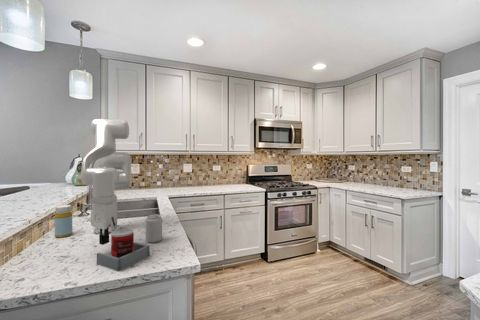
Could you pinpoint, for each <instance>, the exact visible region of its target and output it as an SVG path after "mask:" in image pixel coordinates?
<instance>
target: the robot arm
mask: <svg viewBox="0 0 480 320" xmlns="http://www.w3.org/2000/svg"><path fill="white" fill-rule="evenodd" d="M90 124H91V129H92V130H91V131H92V135H94V148H93V149H92V150H90V151H89V152H88V153H87V154H86V155H85V156H84V157H83V160H82V163H81V169H80V181H81V183H82V184H83V185H84V186H87V187H88V186H90V187H91V186H92V206H91V211H90V226H91V227H92V228H93V227H94V229H93V233H94V234H96V235H97V234H98V235H99V236H98V237H99V239H98V240H99V241H98V243H99V245H102V246H103V245H106V244H108V243H109V242H110V234H111V233H112V232H113V231H116V230H119V229H122V227H121V225H118V196H117V195H116V193H115V190H123V189H124V190H125V189H130V187H131V185H132V160H131V156H130V154H129V153H127V152H123V151H120V152H119V151H118V152H117V151H116V150H117V148H116V146H117V143H116V140H126V139H128V138H129V136H130V126H129V123H128V121H127V120H125V119H113V118H95V119H93V120H91V123H90ZM96 161H97V165H98V167H90V166H91V165H92V164H93V163H94V162H96ZM118 170H121V171H118Z"/></svg>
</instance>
